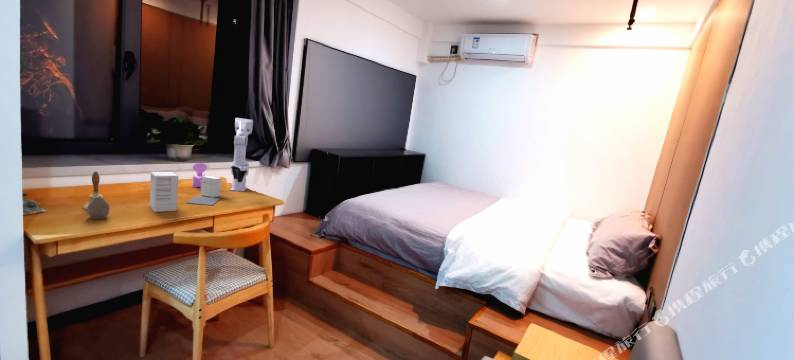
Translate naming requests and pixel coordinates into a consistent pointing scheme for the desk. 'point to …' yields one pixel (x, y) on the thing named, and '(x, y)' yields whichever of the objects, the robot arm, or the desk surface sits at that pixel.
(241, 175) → the robot arm
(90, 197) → the hand bell
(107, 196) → the desk surface
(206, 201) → the slate mat
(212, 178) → the small box
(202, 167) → the toy chair
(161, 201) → the supplement box
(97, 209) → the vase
